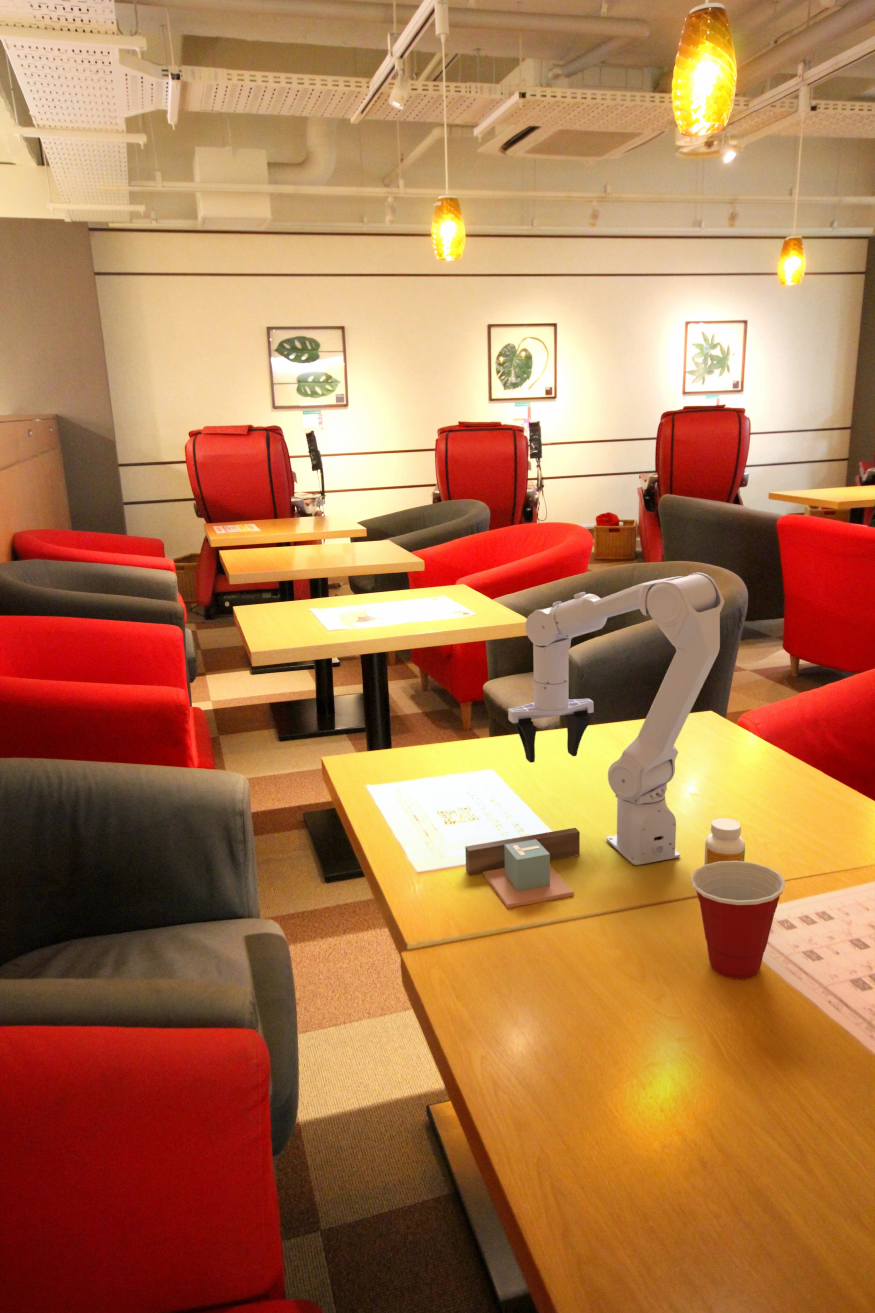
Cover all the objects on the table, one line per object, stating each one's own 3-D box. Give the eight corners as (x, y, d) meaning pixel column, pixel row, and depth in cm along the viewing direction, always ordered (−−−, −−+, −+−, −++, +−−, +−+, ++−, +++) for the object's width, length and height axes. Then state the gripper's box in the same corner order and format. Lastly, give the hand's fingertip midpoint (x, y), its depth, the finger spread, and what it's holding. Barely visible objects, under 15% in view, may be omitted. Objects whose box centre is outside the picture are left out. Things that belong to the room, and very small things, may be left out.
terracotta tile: (573, 895, 129) (573, 891, 129) (507, 908, 126) (507, 904, 126) (545, 864, 138) (545, 860, 138) (483, 875, 135) (483, 871, 135)
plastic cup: (708, 931, 119) (712, 848, 116) (792, 960, 112) (798, 872, 109) (671, 971, 111) (674, 882, 108) (759, 1004, 104) (765, 910, 101)
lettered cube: (549, 885, 130) (549, 853, 129) (517, 891, 129) (516, 859, 128) (536, 870, 135) (536, 838, 134) (504, 875, 134) (504, 844, 132)
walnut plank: (579, 855, 140) (579, 831, 139) (469, 875, 135) (468, 850, 134) (575, 851, 142) (575, 827, 141) (466, 870, 137) (465, 846, 136)
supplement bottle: (748, 895, 127) (751, 832, 125) (709, 896, 127) (712, 832, 125) (736, 876, 132) (739, 815, 130) (699, 877, 132) (701, 816, 130)
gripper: (580, 668, 155) (580, 743, 158) (501, 678, 151) (502, 755, 154) (599, 679, 148) (598, 757, 151) (516, 689, 144) (517, 769, 148)
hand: (551, 757), depth 152 cm, fingers open, 7 cm apart
